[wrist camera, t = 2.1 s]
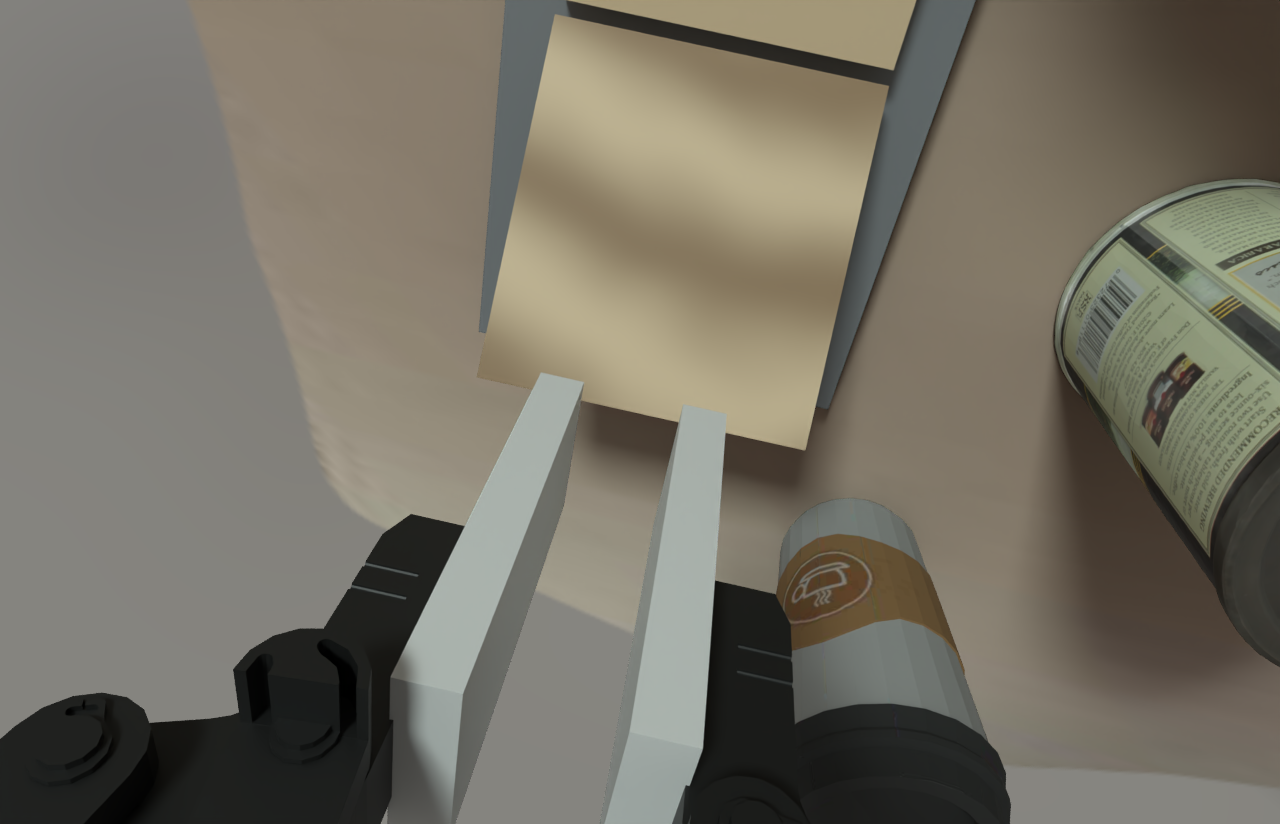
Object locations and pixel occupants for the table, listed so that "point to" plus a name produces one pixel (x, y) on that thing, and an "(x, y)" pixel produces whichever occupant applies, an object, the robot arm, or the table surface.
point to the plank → (682, 229)
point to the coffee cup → (879, 679)
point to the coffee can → (1193, 377)
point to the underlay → (773, 30)
